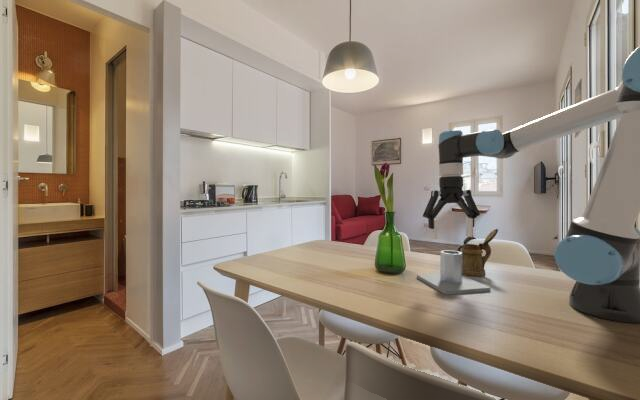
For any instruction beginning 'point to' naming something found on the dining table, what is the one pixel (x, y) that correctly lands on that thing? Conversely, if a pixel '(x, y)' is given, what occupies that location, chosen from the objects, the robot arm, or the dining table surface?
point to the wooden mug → (476, 256)
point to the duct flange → (453, 285)
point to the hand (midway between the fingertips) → (451, 237)
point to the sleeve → (451, 266)
